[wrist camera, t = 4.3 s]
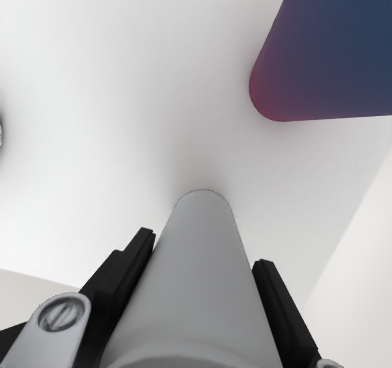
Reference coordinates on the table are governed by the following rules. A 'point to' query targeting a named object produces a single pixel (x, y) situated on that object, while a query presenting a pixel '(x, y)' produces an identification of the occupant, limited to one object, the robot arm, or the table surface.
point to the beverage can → (195, 298)
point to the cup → (325, 61)
